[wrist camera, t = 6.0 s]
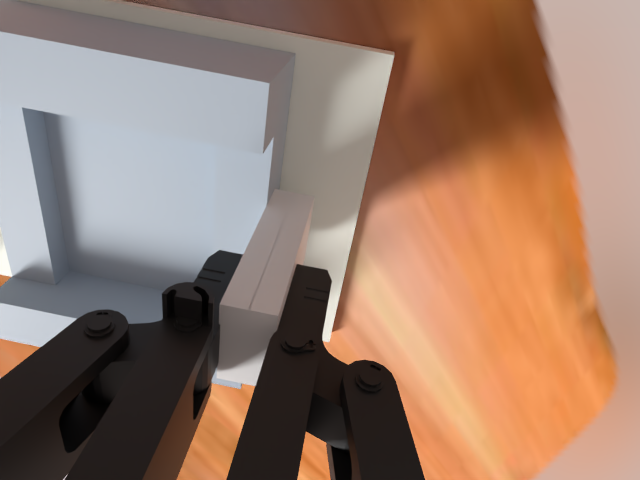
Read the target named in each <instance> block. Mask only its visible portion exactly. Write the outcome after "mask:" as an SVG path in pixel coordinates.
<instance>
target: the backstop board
mask: <svg viewBox="0 0 640 480" xmlns="http://www.w3.org/2000/svg"><path fill="white" fill-rule="evenodd" d="M18 1H23V2H28V3H33V4H39V5H44V6H49V7H54V8H60V9H65V10H70V11H75V12H81V13H86V14H91V15H96V16H102V17H107V18H112V19H117V20H123V21H128V22H133V23H138V24H144V25H149V26H154V27H159V28H165V29H170V30H175V31H181V32H186V33H191V34H196V35H202V36H207V37H212V38H217V39H223V40H228V41H233V42H238V43H244V44H249V45H254V46H259V47H265V48H270V49H275V50H280V51H286V52H291V53H296V56H295V64H294V72H293V81H292V89H291V97H290V106H289V114H288V122H287V131H286V139H285V147H284V156H283V164H282V173H281V181H280V189H279V190H283V191H288V192H294V193H299V194H304V195H309V196H314V203H313V210H312V216H311V222H310V229H309V235H308V241H307V248H306V254H305V259H304V263H303V265H305V266H310V267H315V268H320V269H325V270H328V273H329V275H330V277H331V280H332V284H331V290H330V295H329V301H328V307H327V312H326V318H325V324H324V329H323V335H322V341H326V342H329V341H330V337H331V332H332V328H333V323H334V319H335V315H336V310H337V306H338V301H339V297H340V293H341V288H342V284H343V279H344V275H345V271H346V266H347V262H348V257H349V253H350V249H351V244H352V240H353V235H354V231H355V227H356V222H357V218H358V213H359V209H360V205H361V200H362V196H363V192H364V187H365V183H366V178H367V174H368V170H369V165H370V161H371V156H372V152H373V148H374V143H375V139H376V134H377V130H378V126H379V121H380V117H381V112H382V108H383V104H384V99H385V95H386V90H387V86H388V82H389V77H390V73H391V68H392V64H393V60H394V52H392V51H387V50H382V49H376V48H371V47H366V46H360V45H355V44H350V43H345V42H339V41H334V40H329V39H323V38H318V37H313V36H308V35H302V34H297V33H292V32H286V31H281V30H276V29H271V28H265V27H260V26H255V25H249V24H244V23H239V22H234V21H228V20H223V19H218V18H212V17H207V16H202V15H197V14H191V13H186V12H181V11H175V10H170V9H165V8H160V7H154V6H149V5H144V4H138V3H133V2H128V1H123V0H18ZM0 274H1V275H6V276H11V277H12V273H11V269H10V265H9V261H8V257H7V253H6V249H5V245H4V241H3V237H2V233H1V228H0Z"/></svg>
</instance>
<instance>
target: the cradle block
mask: <svg viewBox="0 0 640 480" xmlns="http://www.w3.org/2000/svg"><path fill="white" fill-rule="evenodd" d="M295 56H296V53H291V52H286V51H280V50H275V49H270V48H265V47H259V46H254V45H249V44H244V43H238V42H233V41H228V40H223V39H217V38H212V37H207V36H202V35H196V34H191V33H186V32H181V31H175V30H170V29H165V28H159V27H154V26H149V25H144V24H138V23H133V22H128V21H123V20H117V19H112V18H107V17H102V16H96V15H91V14H86V13H81V12H75V11H70V10H65V9H60V8H54V7H49V6H44V5H39V4H33V3H28V2H23V1H18V0H0V228H1V233H2V237H3V241H4V245H5V249H6V253H7V257H8V261H9V265H10V269H11V273H12V277H11V278H10V279H9V280H8V281H7V282H5V283H4V284H3V285H2V286H1V287H0V339H5V340H10V341H14V342H19V343H24V344H29V345H34V346H38V347H42V346H43V345H44V344H46V343H47V342H48V341H49V340H51V339H52V338H53V337H55V336H56V335H57V334H58V333H60V332H61V331H62V330H64V329H65V328H66V327H67V326H69V325H70V324H71V323H72V322H74V321H75V320H76V319H78V318H79V317H81V316H83V315H84V314H86V313H88V312H92V311H95V310H105V309H110V310H114V311H118V312H120V313H121V314H123V315H124V316H125V317H126V319H127V321H128V324H136V323H151V322H157V321H160V320H162V318H163V311H162V293H163V292H164V291H165V290H166V289H167V288H168V287H170V286H172V285H175V284H177V283H183V282H194V281H195V279H196V278H197V275H198V274H199V272H200V270H202V267H203V265H204V263H205V262H206V260H207V258H208V257H210V256H211V255H213V254H214V253H216V252H217V251H219V250H223V251H228V252H233V253H238V254H244V252H245V250H246V248H247V246H248V243H249V241H250V239H251V237H252V235H253V233H254V231H255V229H256V227H257V225H258V222H259V220H260V218H261V216H262V214H263V212H264V210H265V208H266V206H267V204H268V202H269V200H270V198H271V196H272V194H273V192H274V189H278V190H279V189H280V181H281V173H282V164H283V156H284V147H285V139H286V131H287V122H288V114H289V106H290V97H291V89H292V81H293V72H294V64H295ZM212 383H215V384H219V385H224V386H229V387H234V388H238V389H241V386H242V383H238V382H233V381H228V380H223V379H218V378H217V368H216V371H215V373H214V375H213V378H212Z"/></svg>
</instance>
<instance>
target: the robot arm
mask: <svg viewBox="0 0 640 480" xmlns="http://www.w3.org/2000/svg"><path fill="white" fill-rule="evenodd" d="M313 203H314V196H309V195H304V194H299V193H294V192H288V191H283V190H278V189H274V192H273V194H272V196H271V198H270V200H269V202H268V204H267V206H266V208H265V210H264V212H263V214H262V216H261V218H260V220H259V222H258V225H257V227H256V229H255V231H254V233H253V235H252V237H251V239H250V241H249V243H248V246H247V248H246V250H245V252H244V254H238V253H233V252H228V251H223V250H219V251H217V252H216V253H214V254H213V255H211V256H210V257H208V258H207V260H206V262H205V263H204V265H203V267H202V270H200V272H199V274H198V275H197V278H196V279H195V281H194V282H183V283H177V284H175V285H172V286H170V287H168V288H167V289H166V290H165V291H164V292H163V293H162V311H163V318H162V320H160V321H157V322H151V323H136V324H128V321H127V319H126V317H125V316H124V315H123V314H121V313H120V312H118V311H114V310H110V309H105V310H95V311H92V312H88V313H86V314H84V315H83V316H81V317H79V318H78V319H76V320H75V321H74V322H72V323H71V324H70V325H69V326H67V327H66V328H65V329H64V330H62V331H61V332H60V333H58V334H57V335H56V336H55V337H53V338H52V339H51V340H49V341H48V342H47V343H46V344H44V345H43V346H42V347H40V348H39V349H38V350H37V351H35V352H34V353H33V354H32V355H30V356H29V357H28V358H26V359H25V360H24V361H23V362H21V363H20V364H19V365H17V366H16V367H15V368H14V369H12V370H11V371H10V372H9V373H7V374H6V375H5V376H3V377H2V378H1V379H0V480H63V479H64V477H65V476H66V475H67V474H68V475H67V477H66V478H65V480H176V479H177V477H178V474H179V472H180V469H181V467H182V464H183V462H184V459H185V457H186V454H187V452H188V449H189V447H190V444H191V442H192V439H193V437H194V434H195V432H196V429H197V427H198V424H199V422H200V419H201V417H202V414H203V412H204V409H205V407H206V404H207V402H208V399H209V397H210V393H211V384H212V378H213V375H214V373H215V371H216V368H217V378H218V379H223V380H228V381H233V382H238V383H242V384H247V385H252V386H255V389H254V393H253V396H252V399H251V402H250V405H249V409H248V412H247V415H246V418H245V422H244V425H243V428H242V431H241V434H240V438H239V441H238V444H237V447H236V451H235V454H234V457H233V460H232V463H231V467H230V470H229V473H228V476H227V480H297V477H298V471H299V466H300V460H301V455H302V449H303V444H304V438H305V432H308V433H310V434H312V435H314V436H315V437H317V438H319V439H321V440H323V441H324V442H326V443H327V444H326V446H327V454H328V462H329V469H330V477H331V480H425V478H424V475H423V471H422V468H421V465H420V461H419V458H418V454H417V451H416V448H415V444H414V441H413V438H412V434H411V431H410V428H409V424H408V421H407V418H406V414H405V411H404V407H403V404H402V401H401V397H400V394H399V391H398V387H397V384H396V381H395V379H394V377H393V375H392V373H391V372H390V371H389V370H388V369H387V368H385V367H384V366H383V365H381V364H379V363H377V362H374V361H368V360H360V361H355V362H353V363H351V364H349V365H347V364H345V363H343V362H341V361H339V360H338V359H336V358H335V357H333V356H332V355H331V354H330V353H329V352H328V351H327V350H326V348H325V347H324V344H323V341H322V335H323V329H324V324H325V318H326V312H327V307H328V301H329V295H330V290H331V284H332V280H331V277H330V275H329V273H328V270H325V269H320V268H315V267H310V266H305V265H303V263H304V259H305V254H306V248H307V241H308V235H309V229H310V222H311V216H312V210H313Z"/></svg>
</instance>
